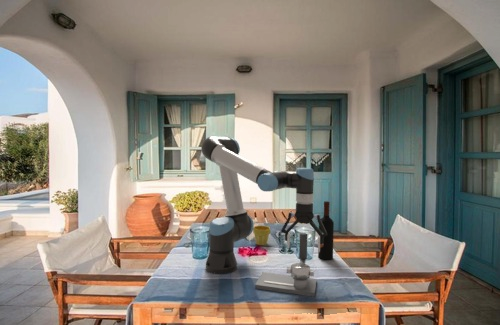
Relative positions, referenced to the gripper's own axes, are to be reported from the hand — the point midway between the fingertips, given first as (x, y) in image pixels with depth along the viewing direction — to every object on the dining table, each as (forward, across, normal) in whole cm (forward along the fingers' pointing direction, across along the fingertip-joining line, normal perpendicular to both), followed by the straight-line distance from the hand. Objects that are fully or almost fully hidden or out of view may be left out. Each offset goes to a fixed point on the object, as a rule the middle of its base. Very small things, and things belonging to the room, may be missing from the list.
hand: (303, 249), depth 133 cm
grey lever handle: (+7, 0, -8) cm, 10 cm away
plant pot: (+13, -29, +40) cm, 51 cm away
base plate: (+13, -6, -10) cm, 17 cm away
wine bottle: (+13, +9, +27) cm, 31 cm away
